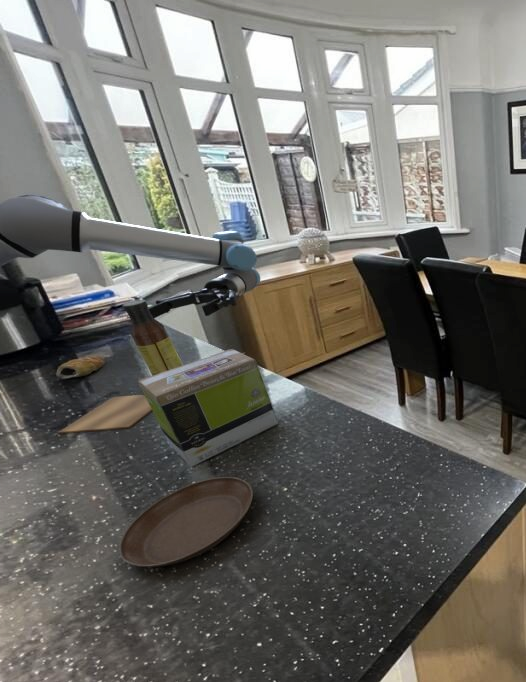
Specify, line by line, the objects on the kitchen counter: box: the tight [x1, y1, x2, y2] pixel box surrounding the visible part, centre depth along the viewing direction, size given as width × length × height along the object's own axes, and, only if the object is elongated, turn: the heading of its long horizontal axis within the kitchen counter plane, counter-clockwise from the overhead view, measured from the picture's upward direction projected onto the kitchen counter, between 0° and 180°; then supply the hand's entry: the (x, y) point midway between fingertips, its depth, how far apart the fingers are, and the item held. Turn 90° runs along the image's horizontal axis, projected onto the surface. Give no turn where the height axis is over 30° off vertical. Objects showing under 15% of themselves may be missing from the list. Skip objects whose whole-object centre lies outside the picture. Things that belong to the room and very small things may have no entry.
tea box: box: [137, 348, 279, 468], centre depth 72 cm, size 15×10×15 cm, turn 145°
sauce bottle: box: [122, 299, 184, 376], centre depth 93 cm, size 6×6×20 cm
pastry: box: [55, 355, 106, 380], centre depth 102 cm, size 9×7×4 cm
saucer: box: [118, 476, 254, 568], centre depth 55 cm, size 15×15×3 cm
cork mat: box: [58, 394, 153, 434], centre depth 84 cm, size 13×13×1 cm
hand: (177, 312), depth 101 cm, fingers open, 13 cm apart
